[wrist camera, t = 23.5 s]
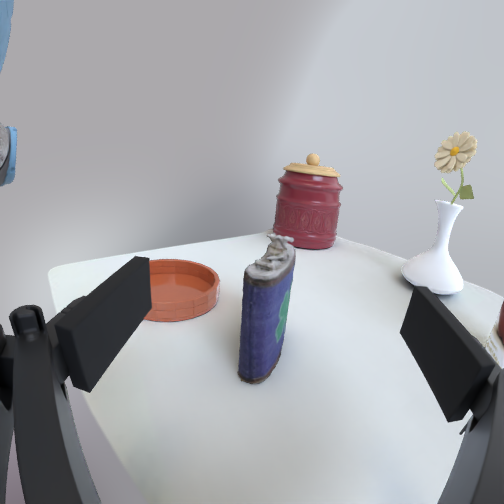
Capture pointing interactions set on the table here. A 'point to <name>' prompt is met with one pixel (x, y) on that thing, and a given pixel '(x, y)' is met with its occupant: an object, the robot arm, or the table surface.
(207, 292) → the terracotta plant saucer
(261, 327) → the flask
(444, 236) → the flower in vase
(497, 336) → the juice carton
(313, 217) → the kitchen canister
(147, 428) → the table surface
